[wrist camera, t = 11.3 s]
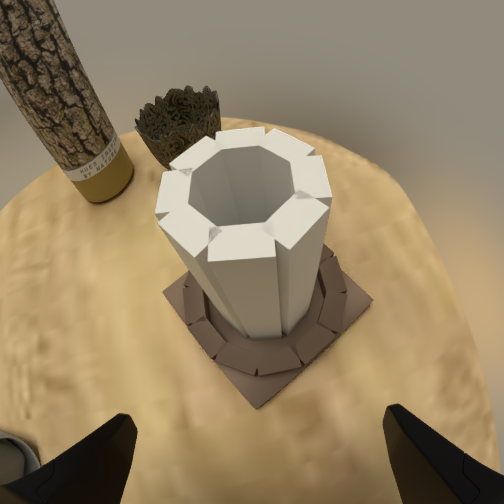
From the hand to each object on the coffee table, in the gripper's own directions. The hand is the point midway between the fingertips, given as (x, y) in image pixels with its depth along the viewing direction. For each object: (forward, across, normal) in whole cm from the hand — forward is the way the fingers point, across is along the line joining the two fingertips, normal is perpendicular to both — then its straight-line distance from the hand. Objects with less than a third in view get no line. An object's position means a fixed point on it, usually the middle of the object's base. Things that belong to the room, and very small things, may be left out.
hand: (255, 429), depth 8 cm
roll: (+12, 0, +1) cm, 12 cm away
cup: (+23, +6, -8) cm, 25 cm away
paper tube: (+24, +17, -9) cm, 30 cm away
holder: (+13, 0, +2) cm, 13 cm away
